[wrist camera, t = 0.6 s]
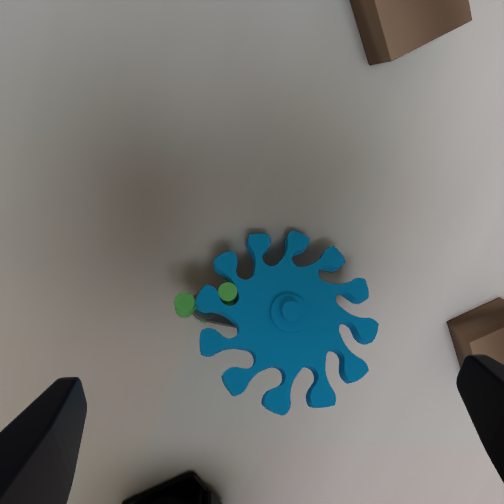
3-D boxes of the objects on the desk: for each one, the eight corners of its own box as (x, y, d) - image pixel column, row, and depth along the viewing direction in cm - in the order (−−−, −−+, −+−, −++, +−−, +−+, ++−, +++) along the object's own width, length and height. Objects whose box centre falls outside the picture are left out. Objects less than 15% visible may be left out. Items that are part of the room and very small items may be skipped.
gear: (385, 245, 22) (381, 432, 18) (347, 278, 28) (337, 429, 23) (198, 204, 21) (149, 389, 17) (197, 246, 27) (159, 395, 23)
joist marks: (463, 375, 29) (485, 399, 27) (333, -54, 18) (353, -77, 15) (512, 353, 29) (538, 375, 26) (412, -97, 17) (444, -126, 15)
